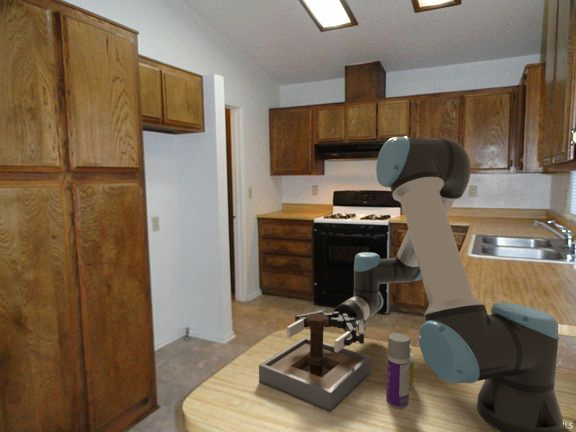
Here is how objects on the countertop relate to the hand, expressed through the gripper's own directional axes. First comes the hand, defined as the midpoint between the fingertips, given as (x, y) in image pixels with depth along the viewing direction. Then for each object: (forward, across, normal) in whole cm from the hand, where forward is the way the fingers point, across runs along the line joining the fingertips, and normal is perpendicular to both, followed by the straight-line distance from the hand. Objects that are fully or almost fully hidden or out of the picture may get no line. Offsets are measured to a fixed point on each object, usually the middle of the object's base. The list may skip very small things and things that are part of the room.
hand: (310, 339), depth 92 cm
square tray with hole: (-2, 0, -11) cm, 11 cm away
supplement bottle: (-12, -18, -11) cm, 24 cm away
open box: (-2, 0, -11) cm, 11 cm away
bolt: (-2, 0, -10) cm, 11 cm away
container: (-4, -20, -11) cm, 23 cm away
